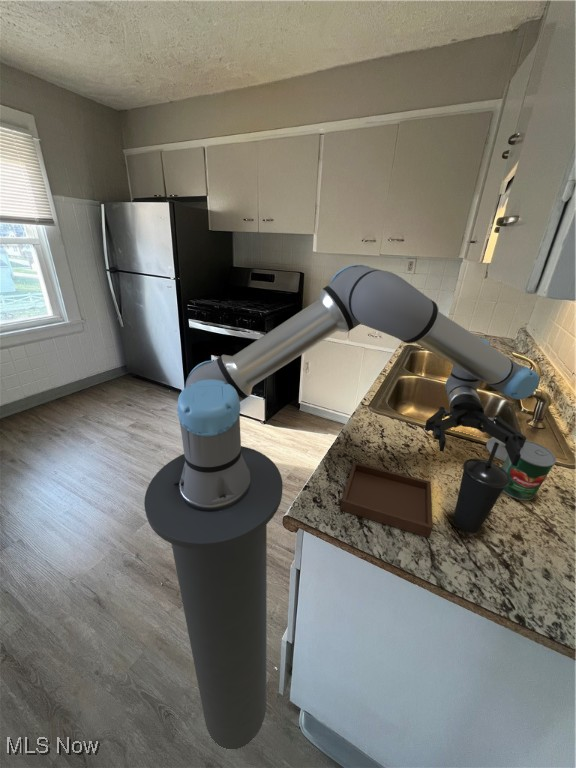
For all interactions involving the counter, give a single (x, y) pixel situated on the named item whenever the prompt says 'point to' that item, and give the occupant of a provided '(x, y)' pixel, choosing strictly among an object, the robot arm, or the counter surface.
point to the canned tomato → (528, 470)
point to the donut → (501, 449)
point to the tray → (389, 498)
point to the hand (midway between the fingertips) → (478, 453)
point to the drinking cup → (479, 491)
